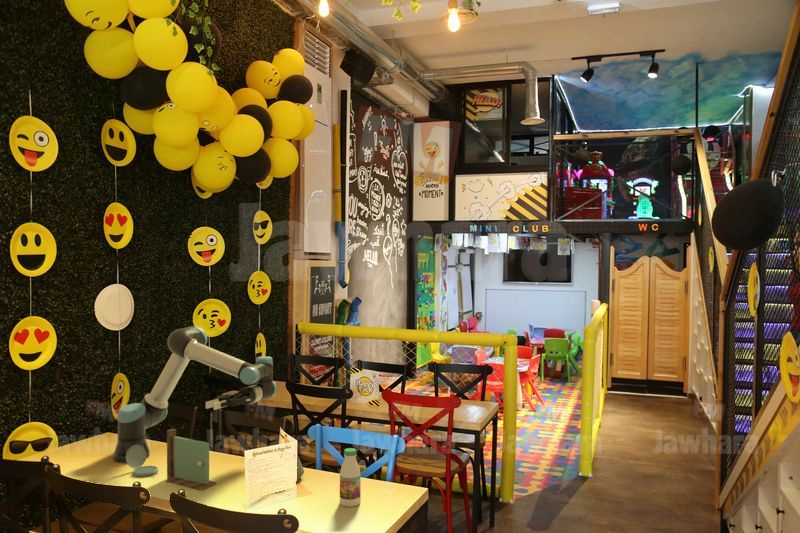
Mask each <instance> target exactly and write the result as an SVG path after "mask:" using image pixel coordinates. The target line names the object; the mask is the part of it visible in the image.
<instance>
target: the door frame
mask: <svg viewBox="0 0 800 533" xmlns="http://www.w3.org/2000/svg"><path fill="white" fill-rule="evenodd" d="M174 436H177V428H171V429H168V430H166V479H165V482H167V483H170V484H174V485H177V486H182V487H185V488H189V489H193V490H198V491H204V490H207V489H209V488H211V487H213V486H216V485H217V484H218V483H217V481H213V480H210V479H209V483H208V484H204V483H200V482H196V481H192V480H188V479H183V478H179V477H175V476H173V437H174Z"/></svg>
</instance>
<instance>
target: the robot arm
mask: <svg viewBox="0 0 800 533" xmlns="http://www.w3.org/2000/svg"><path fill="white" fill-rule="evenodd" d="M207 343H208V336H207V333H206V331H205V330H204V329H203V328H202V327H201V326H195V325H191V326H188V327H182V328H178V329H175V330H173V331H172V332H171V333H170V334H169V335H168V337H167V347H168V349H169V351H170V352H172V353H171V355H170V356H169V359H168V361H167V362H166V364H165V366H164V368H163V370H162V371H161V373H160V375H159V377H158V378H157V381H156V382H155V383H154V384H155V385H154V386H153V388H152V389H151V392H150V393H146V394H145V395H144V396H143V398H142V400H141V401H140V402H134V403H130V404H125V405H122V407H121V406H120V408H119V409H118V410H117V417H116V420H117V443H116V446H115V449H114V451H113V457H112V458H113V461H115V462H117V463H127V462H126V453H127V451H128V449H129V448H130V447H131V446H133V445H141V446H143V447H144V449H145V450H146V459H147V458H148V457H150V449H149V448H150V447H149V444H148V443H147V440H146V430H147V429H149V428H151V427H154V426H156V425H158V424H160V423H162V421H164V420H165V418H166V417H167V415H168V407H169V402H168V400H169V398H170V397H171V395H172V393H173V391H174V389H175V388H176V385H177V384H178V382H179V380H180V378H181V377H182V374H183V373H184V371H185V369H187V368H186V367H187V366H188V364H189V362H190V361H191V360H193V361H194V360H195V361H196V362H198V363H201V364H204V365H206V366H209V367H211V368H214V369H216V370H219V371H221V372H223V373H225V374H228V375H230V376H234V377H235V378H237V379H240V381H241V382H242V383H243V384H244V385H247V386H245V387H241V388H240V389H239V391H238V392H234V393H232V394H231V393H229V392H228V393H226V394H224V395H223V394H222V395H219V396H217V397H214V398H213V399H212V400H208V401H205V409H207V410H208V409H211V408H213V411H216V410H219V409H222V408H225V407H226V408H227V407H233V408H234V407H236V406H241V405H243V406H246V405H250V404H256V403H257V402H260V401H263V400H264V401H265V400H268V399H270V398H272V397H274V396H276V395H277V394H278V390H279V389H278V386H277V383H276V382H275V381H274V379H273V374H274V373H273V372H274V370H273V367H274V362H273V361H274V360H273V357H272V356H267V355H266V356H258V357H256V359H255V364H252V363H249V362H247V361H245V360H242V359H240V358H236V357H235V356H232V355H229V354H227V353H224V352H221V351H219V350H217V349H214V348H213V347H210V346H208V345H207ZM248 385H249V386H248Z"/></svg>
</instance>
